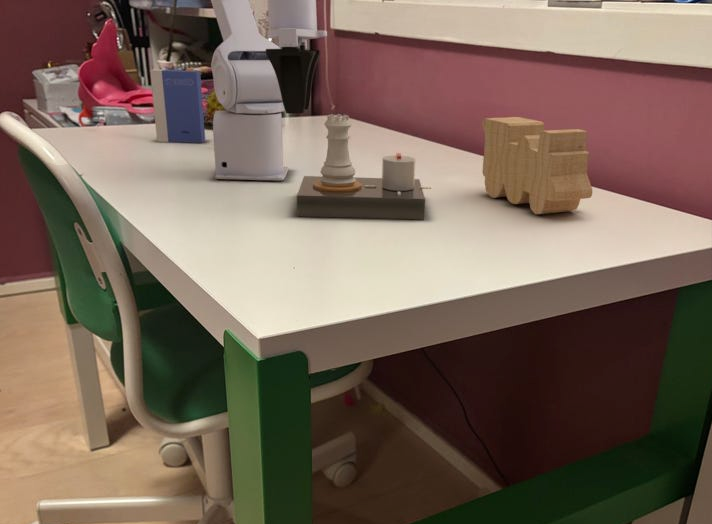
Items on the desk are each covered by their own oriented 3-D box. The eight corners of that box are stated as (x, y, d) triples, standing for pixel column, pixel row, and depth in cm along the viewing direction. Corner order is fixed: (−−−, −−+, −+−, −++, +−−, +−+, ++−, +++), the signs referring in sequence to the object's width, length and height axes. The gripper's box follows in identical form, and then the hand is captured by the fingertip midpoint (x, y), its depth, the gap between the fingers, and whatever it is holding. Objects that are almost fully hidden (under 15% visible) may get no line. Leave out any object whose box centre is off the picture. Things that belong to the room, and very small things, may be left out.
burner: (311, 190, 88) (311, 188, 88) (314, 180, 94) (314, 177, 94) (361, 192, 89) (361, 189, 88) (361, 181, 94) (361, 179, 94)
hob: (297, 216, 87) (296, 193, 86) (304, 195, 97) (303, 174, 96) (433, 220, 88) (434, 197, 87) (426, 198, 98) (427, 178, 97)
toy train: (552, 221, 89) (563, 136, 85) (476, 191, 103) (482, 116, 98) (588, 217, 91) (601, 134, 87) (509, 188, 105) (516, 115, 101)
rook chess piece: (350, 188, 89) (351, 119, 85) (315, 185, 89) (314, 116, 86) (360, 181, 93) (360, 114, 89) (325, 178, 93) (325, 112, 90)
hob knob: (415, 191, 90) (416, 159, 88) (382, 190, 90) (382, 158, 88) (413, 184, 93) (414, 153, 92) (381, 183, 93) (382, 152, 92)
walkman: (205, 140, 132) (200, 68, 127) (201, 143, 129) (196, 69, 124) (160, 139, 132) (153, 66, 126) (156, 141, 129) (149, 68, 124)
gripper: (321, -16, 81) (326, 114, 86) (328, -5, 94) (332, 107, 99) (256, -16, 81) (265, 115, 86) (272, -5, 94) (279, 108, 99)
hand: (297, 111), depth 92 cm, fingers open, 7 cm apart
